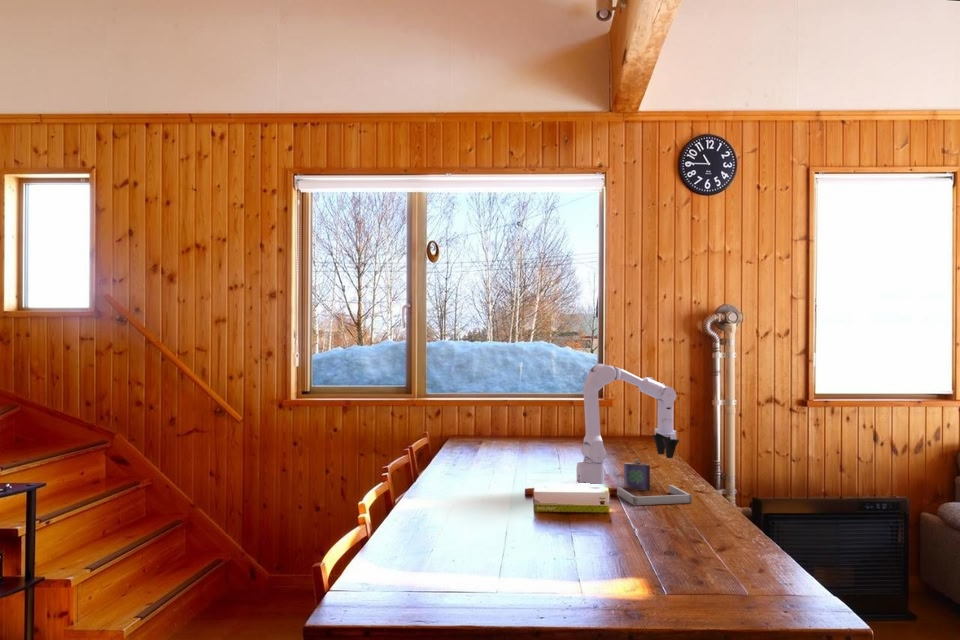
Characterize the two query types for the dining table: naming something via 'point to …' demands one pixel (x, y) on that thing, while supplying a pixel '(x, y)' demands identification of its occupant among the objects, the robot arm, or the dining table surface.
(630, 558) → the dining table surface
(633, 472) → the flask
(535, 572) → the dining table surface
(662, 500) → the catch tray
